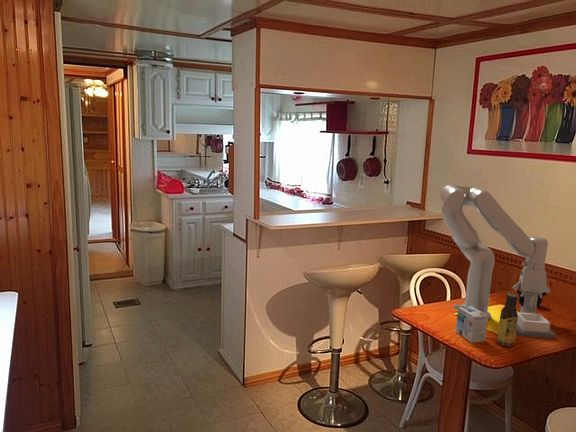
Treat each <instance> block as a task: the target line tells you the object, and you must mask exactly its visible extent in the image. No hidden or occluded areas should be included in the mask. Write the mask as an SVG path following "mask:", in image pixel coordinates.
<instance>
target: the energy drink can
mask: <svg viewBox="0 0 576 432" xmlns="http://www.w3.org/2000/svg"><path fill="white" fill-rule="evenodd" d="M538 294H539V293H537V292H536V290H531V292H525V294H524V296H523V297H524V304H523V306H521V305H520V312H519V313H535V314H537V308H538V307H537V301H538Z"/></svg>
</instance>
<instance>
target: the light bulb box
mask: <svg viewBox="0 0 576 432" xmlns="http://www.w3.org/2000/svg"><path fill="white" fill-rule="evenodd" d="M488 322H489V319H488V315H487V314H485V313H483V312H481V311H480V310H478V309H476V308H474V307H473V306H467V307H458V309H457V316H456V326H455V332H456V333H457V334H458V335H460V336H461V337H463V338H464V339H465V340H467V341H469V343H480V342H481V343H482V342H486V336H487V329H488V328H487V327H488Z"/></svg>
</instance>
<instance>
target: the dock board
mask: <svg viewBox="0 0 576 432" xmlns="http://www.w3.org/2000/svg"><path fill="white" fill-rule="evenodd" d="M517 315H518V321H517V328H516V335H518V336H519V337H530V338H531V337H532V338H545V339H556V338H557V337H556V336H557V334H556V333H555V332H554V331H553V330H552V329H551V328H550V326H551V322H550V321H549V320H548V319H546V318H545V317H544V315H543V314H541V313H536V314H535V313H520V312H518V311H517Z"/></svg>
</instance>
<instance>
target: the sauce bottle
mask: <svg viewBox="0 0 576 432" xmlns="http://www.w3.org/2000/svg"><path fill="white" fill-rule="evenodd" d="M518 300H519V295H518V294H516V293H511V292H509V293H506V295H505V303H504V306H503V307H502V308H501V310H500V316H499V320H498V328H497V336H496V338H497V339H496V340H497V341H496V342H497V344H498V345H500V346H503V347H513V346H514V344H515V341H516V335H517V333H516V328H517V321H518V315H517V312H518V311H517V301H518Z"/></svg>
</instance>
